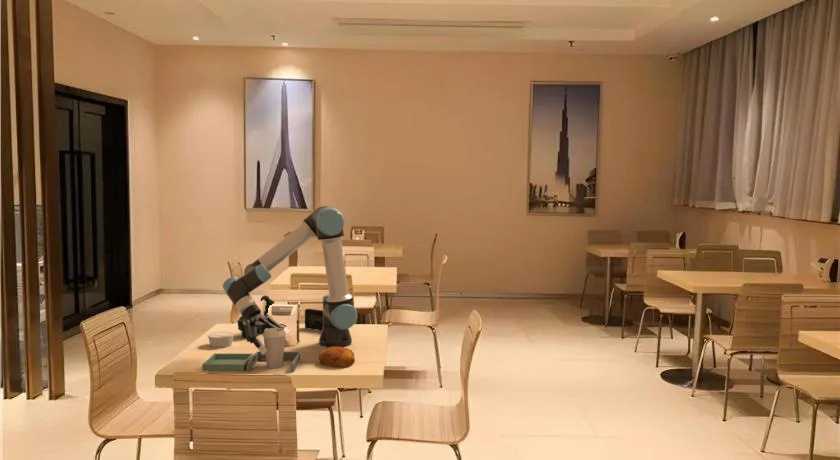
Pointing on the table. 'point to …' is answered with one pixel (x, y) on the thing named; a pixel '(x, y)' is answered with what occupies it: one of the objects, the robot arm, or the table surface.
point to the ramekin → (220, 339)
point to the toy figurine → (268, 303)
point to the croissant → (337, 357)
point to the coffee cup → (274, 346)
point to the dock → (286, 356)
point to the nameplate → (314, 319)
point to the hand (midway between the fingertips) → (276, 349)
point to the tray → (227, 362)
